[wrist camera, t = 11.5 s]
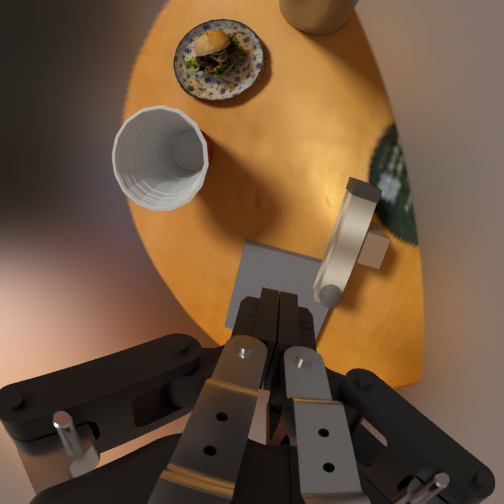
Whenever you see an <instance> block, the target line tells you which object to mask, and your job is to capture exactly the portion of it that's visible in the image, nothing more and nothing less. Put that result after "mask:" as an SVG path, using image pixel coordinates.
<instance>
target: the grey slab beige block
mask: <svg viewBox="0 0 504 504" xmlns="http://www.w3.org/2000/svg"><path fill="white" fill-rule="evenodd" d="M390 240H391V239H390V238H389V237H388V236H387V235H386V234H385V233H384V232H383V230H382V229H381V228H380V227H379V226H378V225H375V224H372V223H370V224H369V227H368V230H367V232H366V235H365V238H364V240H363V243H362V246H361V248H360V251H359V254H358V256H357V259H356V261H357V263H359V264H362V265H366V266H369V267H373V268H376V269H379V268H380V266H381V263H382V261H383V258H384V256H385V253H386V251H387V248H388V245H389V243H390ZM322 261H323V260H320V259H317V258H313V257H309V256H306V255H302V254H298V253H294V252H291V251H287V250H283V249H280V248H276V247H272V246H268V245H265V244H261V243H257V242H253V241H249V240H246V242H245V245H244V250H243V254H242V258H241V262H240V266H239V270H238V274H237V278H236V282H235V286H234V290H233V294H232V298H231V302H230V306H229V310H228V314H227V319H226V323H225V327H227V328H231V329H233V328H234V324H235V321H236V317H237V313H238V310H239V306H240V303H241V301H242V300H243V299H244V298H245V297H247V296H251V297H256V298H260V295H261V290H262V287H264V288H269V289H274V290H279V293H280V291H284V292H289V293H293V294H297V295H298V306H299V307H305V308H308V310H309V311H310V312H311V314H312V315H313V321H314V324H313V325H314V331H315V340H316V338H317V336H318V333H319V331H320V329H321V326H322V324H323V322H324V320H325V317H326V315H327V312H328V310H329V308H327V307H324V306H323V305H322V304H321V303H319V302H315V298H314V291H313V285H314V282H315V280H316V277H317V274H318V272H319V269H320V266H321V263H322Z"/></svg>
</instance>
